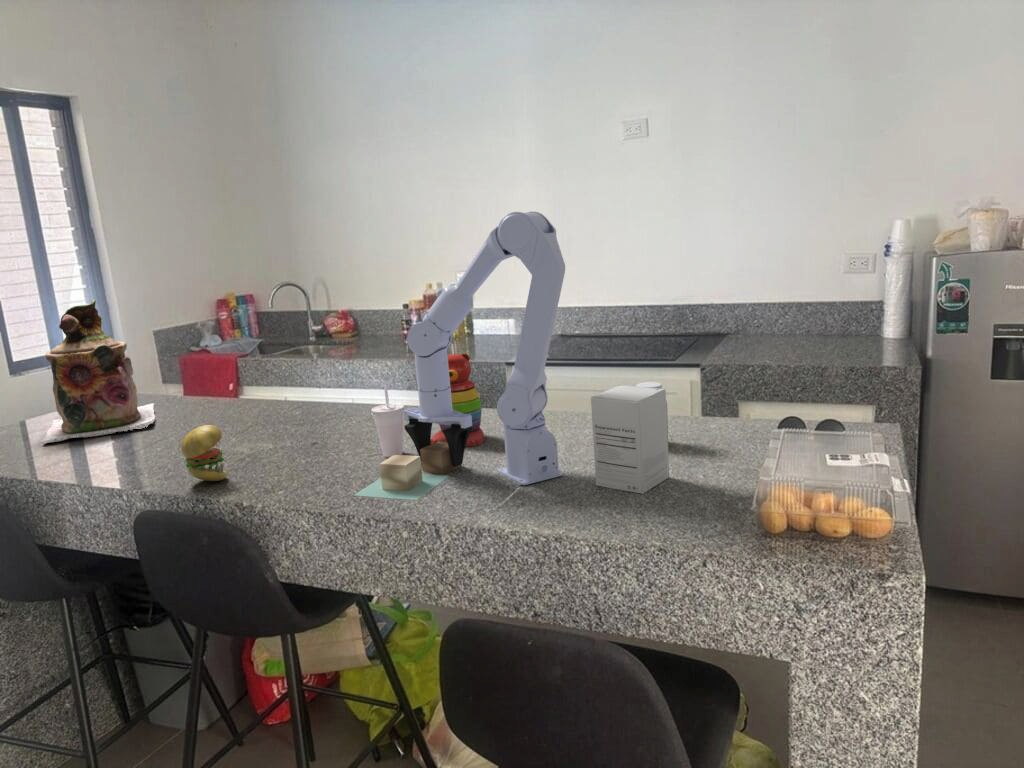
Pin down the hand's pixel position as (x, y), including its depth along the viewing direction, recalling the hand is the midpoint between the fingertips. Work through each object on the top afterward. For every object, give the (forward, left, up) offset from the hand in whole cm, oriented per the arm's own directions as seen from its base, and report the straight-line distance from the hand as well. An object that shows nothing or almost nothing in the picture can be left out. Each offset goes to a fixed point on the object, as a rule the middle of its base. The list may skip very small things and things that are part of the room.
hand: (441, 462), depth 135 cm
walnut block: (0, 0, -2) cm, 2 cm away
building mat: (-4, +9, -1) cm, 10 cm away
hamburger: (+23, +37, -2) cm, 44 cm away
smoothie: (+15, +4, -2) cm, 16 cm away
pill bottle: (-13, -37, -2) cm, 39 cm away
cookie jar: (+92, +54, -2) cm, 107 cm away
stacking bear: (+16, -11, -2) cm, 19 cm away
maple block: (-4, +9, -1) cm, 10 cm away
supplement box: (-27, -22, -2) cm, 35 cm away
